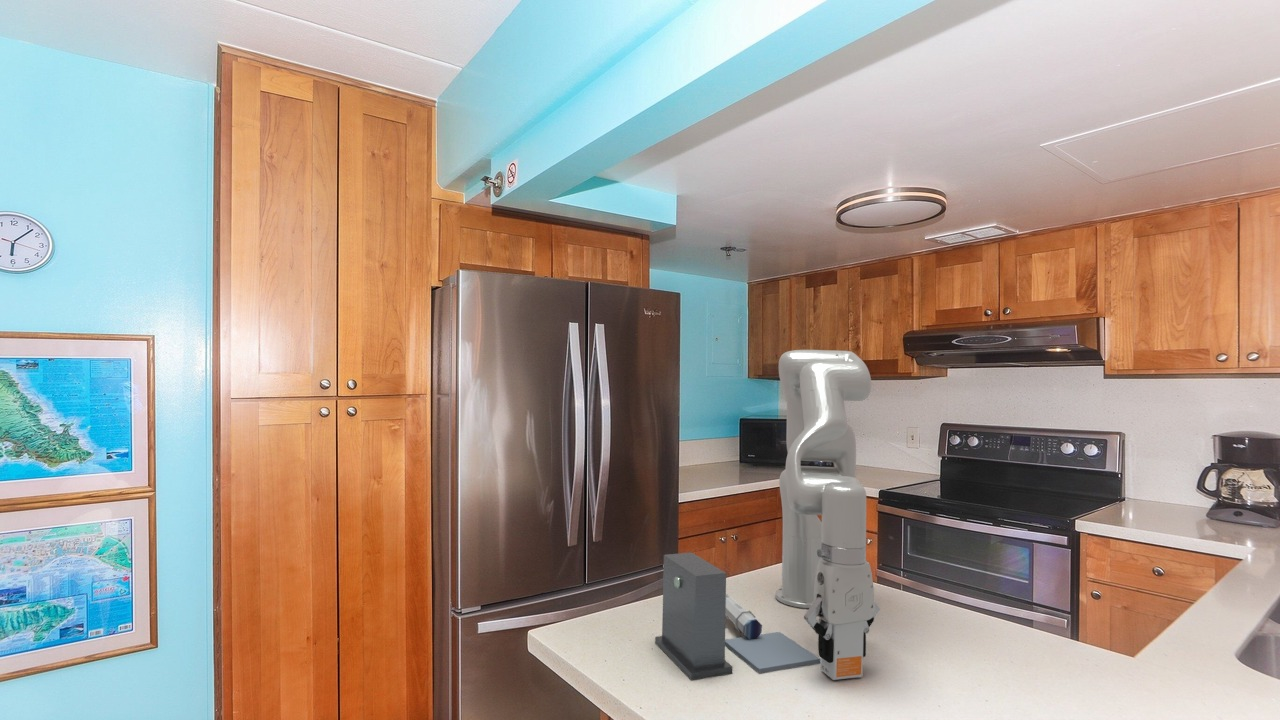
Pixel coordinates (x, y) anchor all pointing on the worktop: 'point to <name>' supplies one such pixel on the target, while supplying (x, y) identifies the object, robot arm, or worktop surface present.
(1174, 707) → the worktop surface
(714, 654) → the mounted unit
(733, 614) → the white elongated piece
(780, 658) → the slate mat
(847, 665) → the skincare box
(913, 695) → the worktop surface
